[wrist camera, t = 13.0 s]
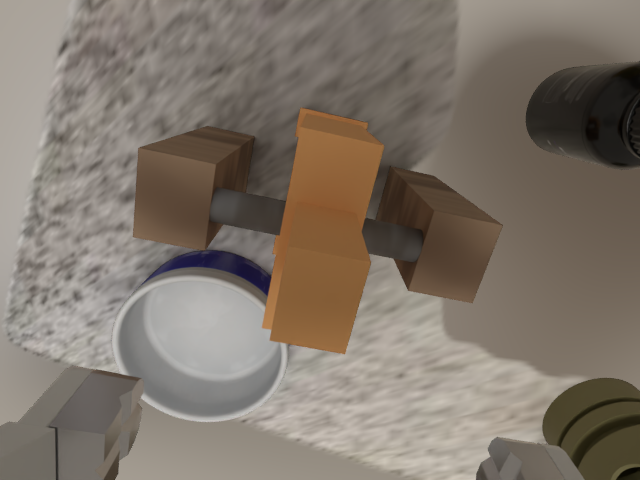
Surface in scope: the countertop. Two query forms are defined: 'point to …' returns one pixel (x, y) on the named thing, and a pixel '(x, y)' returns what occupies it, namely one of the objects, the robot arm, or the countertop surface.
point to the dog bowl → (201, 338)
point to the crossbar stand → (267, 214)
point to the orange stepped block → (323, 234)
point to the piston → (598, 428)
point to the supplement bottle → (589, 114)
